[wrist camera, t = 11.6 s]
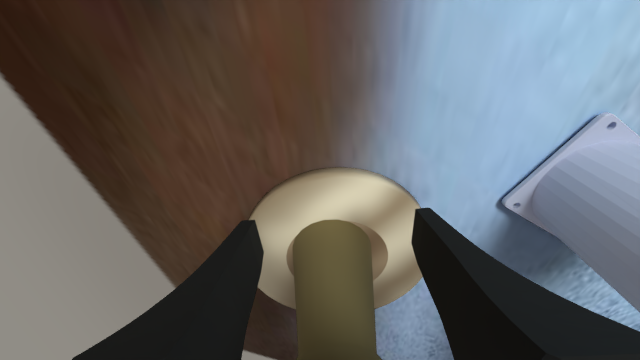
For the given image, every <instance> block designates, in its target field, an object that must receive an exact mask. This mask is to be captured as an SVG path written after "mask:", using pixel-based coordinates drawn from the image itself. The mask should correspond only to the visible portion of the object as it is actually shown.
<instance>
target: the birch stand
mask: <svg viewBox="0 0 640 360" xmlns="http://www.w3.org/2000/svg"><path fill="white" fill-rule="evenodd" d="M419 208H421V207H420V206H419V204H418V202H417V201H416V200H415V198H414V197H413V196H412V195H411V194H410V193H409V192H408V191H407V190H406V189H405V188H403V187H402V186H401V185H399V184H398V183H396V182H395V181H393V180H391V179H389V178H387V177H385V176H383V175H380V174H377V173H374V172H371V171H368V170H362V169H357V168H346V167H333V168H322V169H316V170H311V171H308V172H304V173H301V174H298V175H296V176H293V177H291V178H289V179H286V180H285V181H283V182H281V183H280V184H278V185H276V186H275V187H274V188H272V189H271V190H270V191H269V192H267V193H266V194H265V195H264V196H263V197H262V199H261V200H260V201H259V202H258V203H257V205H256V206H255V208H254V209H253V211H252V213H251V215H250V218H249V220H255V222H256V225H257V229H258V232H259V236H260V240H261V243H262V247H263V250H264V255H263V263H262V270H261V275H260V279H259V283H258V288H259V289H260V290H261V291H263V292H264V293H265V294H266V295H267V296H269V297H270V298H272V299H274V300H275V301H277V302H279V303H281V304H283V305H285V306H288V307H290V308H293V309H296V302H295V284H294V266H293V248H292V247H293V243H294V240H295V237H296V236H297V235H298V234H299V233H300V231H301V230H302V229H304V228H305V227H307V226H309V225H310V224H312V223H315V222H319V221H322V220H336V219H338V220H342V221H347V222H351V223H353V224H355V225H356V226H358V227H360V228H361V229H362V230H363V231H364V232H365V233H366V234H367V235H368V237H369V240H370V242H371V251H372V271H373V291H374V309H376V308H379V307H382V306H384V305H387V304H389V303H391V302H393V301H395V300H396V299H398V298H400V297H401V296H403V295H404V294H406V293H407V292H408V291H410V290H411V289H412V288H413V287H414V286H415V285H416V284H417V283H418V282H419V281H420V279H421V278H422V277H423V276H422V273H421V271H420V269H419V266H418V264H417V261H416V258H415V254H414V251H413V247H412V244H411V240H412V232H413V224H414V216H415V209H419Z"/></svg>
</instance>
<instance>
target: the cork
mask: <svg viewBox="0 0 640 360" xmlns="http://www.w3.org/2000/svg"><path fill="white" fill-rule="evenodd" d="M292 248H293V266H294V284H295V302H296V320H297V338H298V357H297V359H296V360H382V359H381V358H380V357H379V356H378V355H377V351H376V331H375V311H374V291H373V271H372V251H371V242H370V240H369V237H368V235H367V234H366V233H365V232H364V231H363V230H362V229H361V228H360V227H358V226H356V225H355V224H353V223H351V222H347V221H342V220H338V219H336V220H322V221H319V222H315V223H312V224H310V225H309V226H307V227H305V228H304V229H302V230H301V231H300V233H299V234H298V235H297V236H296V237H295V240H294V243H293V247H292Z"/></svg>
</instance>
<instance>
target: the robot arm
mask: <svg viewBox="0 0 640 360" xmlns="http://www.w3.org/2000/svg"><path fill="white" fill-rule="evenodd" d="M608 125H609V126H608ZM515 203H516V204H515ZM502 204H503V205H504V206H505V207H506V208H508V209H510V210H511V211H513V212H515V213H517V214H518V215H520V216H522V217H523V218H525V219H527V220H529V221H530V222H532V223H534V224H535V225H537V226H539V227H541V228H542V229H544V230H546V231H547V232H549V233H551V234H553V235H554V236H556V237H558V238H559V239H560V240H561V241H562V242H563V243H565V244H566V245H567V246H568V247H569V248H570V249H571V250H572V251H573V252H574V253H575V254H577V255H578V256H579V257H580V258H581V259H582V260H583V261H584V262H585V263H586V264H587V265H589V266H590V267H591V268H592V269H593V270H594V271H595V272H596V273H597V274H598V275H599V276H601V277H602V278H603V279H604V280H605V281H606V282H607V283H608V284H609V285H610V286H611V287H613V288H614V289H615V290H616V291H617V292H618V293H619V294H620V295H621V296H622V297H623V298H625V299H626V300H627V301H628V302H629V303H630V304H631V305H632V306H633V307H634V308H635V309H637V310H638V311H639V312H640V136H639V135H638V134H636V133H635V132H634V131H633V130H632V129H630V128H629V127H628V126H627V125H626V124H625V123H623V122H622V121H621V120H620V119H619V118H617V117H616V116H615V115H613V114H611V113H608V112H605V113H601V114H599V115H598V116H597V117H595V118H594V119H593V120H592V121H591V122H590V123H589V124H587V125H586V126H585V127H584V128H583V129H582V130H581V131H579V132H578V133H577V134H576V135H575V136H574V137H573V138H571V139H570V140H569V141H568V142H567V143H566V144H565V145H563V146H562V147H561V148H560V149H559V150H558V151H557V152H556V153H554V154H553V155H552V156H551V157H550V158H549V159H548V160H546V161H545V162H544V163H543V164H542V165H541V166H540V167H538V168H537V169H536V170H535V171H534V172H533V173H532V174H530V175H529V176H528V177H527V178H526V179H525V180H524V181H522V182H521V183H520V184H519V185H518V186H517V187H516V188H514V189H513V190H512V191H511V192H510V193H509V194H508V195H507V196H505V197H504V198H503V200H502ZM514 204H515V205H514ZM411 244H412V247H413V251H414V254H415V258H416V261H417V264H418V266H419V269H420V271H421V273H422V276H423V278H424V280H425V283H426V285H427V287H428V289H429V292H430V294H431V296H432V299H433V301H434V303H435V305H436V308H437V310H438V312H439V315H440V318H441V320H442V323H443V326H444V329H445V332H446V335H447V338H448V341H449V344H450V347H451V350H452V354H453V357H454V360H640V332H639V331H637V330H635V329H632V328H630V327H627V326H625V325H623V324H620V323H618V322H616V321H613V320H611V319H608V318H606V317H604V316H601V315H599V314H597V313H594V312H592V311H590V310H588V309H586V308H583V307H581V306H579V305H577V304H575V303H573V302H571V301H569V300H566V299H564V298H562V297H560V296H558V295H556V294H554V293H553V292H551V291H549V290H547V289H545V288H543V287H541V286H539V285H538V284H536V283H534V282H532V281H530V280H528V279H527V278H525V277H523V276H521V275H520V274H518V273H516V272H515V271H513V270H511V269H510V268H508V267H507V266H505V265H503V264H502V263H500V262H499V261H497V260H496V259H494V258H493V257H491V256H490V255H488V254H487V253H486V252H484V251H483V250H481V249H480V248H479V247H477V246H476V245H474V244H473V243H472V242H470V241H469V240H468V239H467V238H465V237H464V236H463V235H462V234H460V233H459V232H458V231H457V230H455V229H454V228H453V227H452V226H450V225H449V224H448V223H447V222H446V221H445V220H443V219H442V218H441V217H440V216H439V215H437V214H436V213H435V212H434V211H433V210H432V209H430V208H419V209H415V216H414V224H413V232H412V240H411ZM263 255H264V250H263V247H262V243H261V240H260V236H259V232H258V229H257V225H256V222H255V220H244V221H241V222H240V223H239V224H238V226H237V227H236V228H235V229H234V230H233V231H232V232H231V233H230V235H229V236H228V237H227V238H226V239H225V240H224V241H223V243H222V244H221V245H220V246H219V247H218V248H217V249H216V250H215V251H214V252H213V254H212V255H211V256H210V257H209V258H208V259H207V260H206V261H205V262H204V263H203V264H202V265H201V266H200V267H199V268H198V269H197V270H196V271H195V272H194V273H193V274H192V275H191V276H189V277H188V278H187V279H186V280H185V281H184V282H183V283H182V284H180V285H179V286H178V287H177V288H176V289H175V290H173V291H172V292H171V293H170V294H169V295H167V296H166V297H165V298H163V299H162V300H161V301H159V302H158V303H157V304H155V305H154V306H153V307H152V308H150V309H149V310H148V311H146V312H145V313H144V314H142V315H141V316H139V317H138V318H137V319H135V320H133V321H132V322H131V323H129V324H128V325H126V326H125V327H123V328H122V329H120V330H119V331H117V332H115V333H114V334H112V335H111V336H109V337H107V338H106V339H104V340H102V341H101V342H99V343H98V344H96V345H94V346H93V347H91V348H89V349H88V350H86V351H84V352H83V353H81V354H79V355H77V356H76V357H74V358H73V359H72V360H241V357H242V351H243V345H244V339H245V333H246V328H247V324H248V320H249V316H250V312H251V309H252V305H253V301H254V298H255V294H256V290H257V287H258V283H259V279H260V275H261V270H262V263H263Z"/></svg>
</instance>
